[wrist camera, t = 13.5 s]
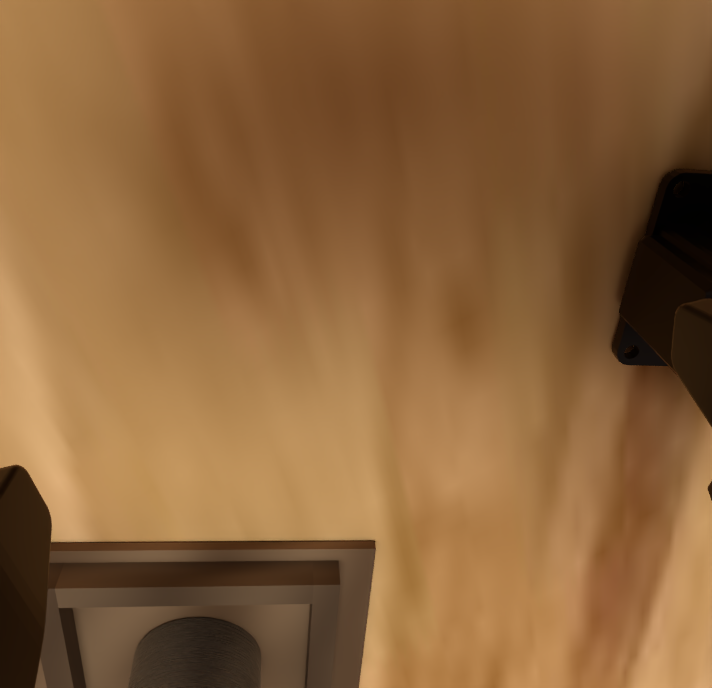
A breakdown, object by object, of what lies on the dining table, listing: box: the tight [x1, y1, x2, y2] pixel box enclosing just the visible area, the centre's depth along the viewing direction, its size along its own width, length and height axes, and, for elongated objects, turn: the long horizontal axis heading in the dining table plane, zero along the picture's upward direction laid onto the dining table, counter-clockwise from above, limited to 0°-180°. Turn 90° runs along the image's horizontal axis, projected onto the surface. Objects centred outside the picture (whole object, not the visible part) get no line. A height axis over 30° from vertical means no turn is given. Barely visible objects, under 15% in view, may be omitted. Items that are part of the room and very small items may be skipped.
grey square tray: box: [35, 541, 376, 688], centre depth 28 cm, size 14×12×2 cm
